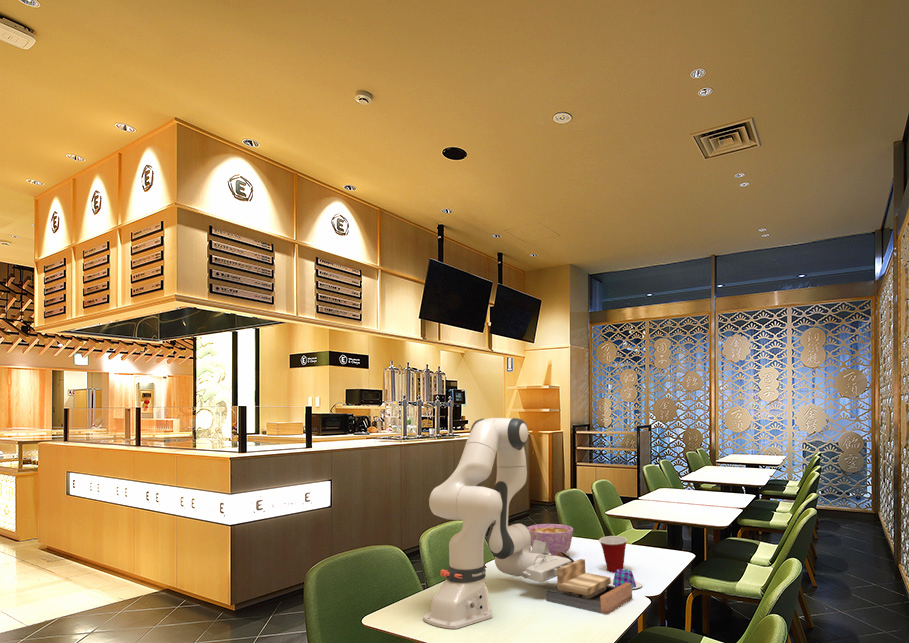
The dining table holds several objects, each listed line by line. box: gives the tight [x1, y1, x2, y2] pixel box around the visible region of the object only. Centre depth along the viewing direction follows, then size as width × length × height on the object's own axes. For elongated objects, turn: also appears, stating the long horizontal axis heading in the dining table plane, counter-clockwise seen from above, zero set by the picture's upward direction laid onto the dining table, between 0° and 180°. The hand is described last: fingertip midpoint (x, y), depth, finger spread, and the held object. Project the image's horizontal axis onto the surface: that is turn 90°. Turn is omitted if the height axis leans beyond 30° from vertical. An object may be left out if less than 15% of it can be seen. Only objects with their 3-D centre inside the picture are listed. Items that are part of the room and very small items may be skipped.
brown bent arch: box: [554, 552, 576, 563], centre depth 232 cm, size 12×10×8 cm
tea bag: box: [530, 540, 550, 554], centre depth 240 cm, size 4×7×10 cm, turn 36°
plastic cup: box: [598, 535, 628, 574], centre depth 232 cm, size 11×11×12 cm
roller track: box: [545, 583, 633, 615], centre depth 198 cm, size 18×22×5 cm
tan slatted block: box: [556, 558, 612, 599], centre depth 199 cm, size 16×11×9 cm
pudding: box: [609, 568, 643, 590], centre depth 213 cm, size 12×12×5 cm
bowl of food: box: [526, 523, 574, 556], centre depth 256 cm, size 20×20×12 cm
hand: (569, 572), depth 203 cm, fingers closed, pressing on tan slatted block
